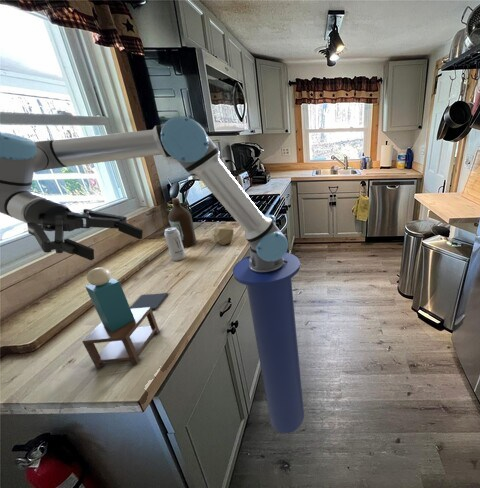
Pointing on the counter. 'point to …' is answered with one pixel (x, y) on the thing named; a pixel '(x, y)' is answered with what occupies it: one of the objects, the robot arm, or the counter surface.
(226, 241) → the low-poly potato
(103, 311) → the toy
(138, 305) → the coaster
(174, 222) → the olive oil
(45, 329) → the counter surface
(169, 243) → the energy drink can
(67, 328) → the counter surface
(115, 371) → the counter surface
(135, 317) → the small wooden table
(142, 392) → the counter surface
